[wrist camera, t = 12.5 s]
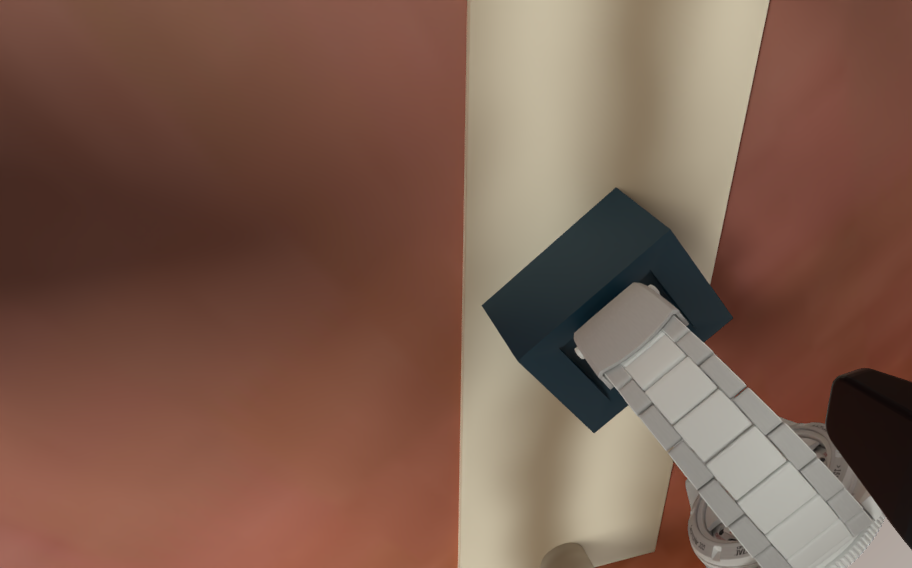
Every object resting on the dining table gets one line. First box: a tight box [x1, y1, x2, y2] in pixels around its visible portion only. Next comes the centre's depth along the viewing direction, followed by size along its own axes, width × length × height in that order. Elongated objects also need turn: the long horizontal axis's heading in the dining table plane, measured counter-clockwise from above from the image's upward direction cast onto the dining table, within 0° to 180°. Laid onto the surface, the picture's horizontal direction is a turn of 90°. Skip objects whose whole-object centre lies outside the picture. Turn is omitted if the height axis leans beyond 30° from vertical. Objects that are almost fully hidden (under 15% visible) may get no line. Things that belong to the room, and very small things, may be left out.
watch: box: [481, 188, 885, 568], centre depth 19 cm, size 6×8×11 cm
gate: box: [458, 0, 769, 568], centre depth 21 cm, size 9×28×10 cm, turn 179°
